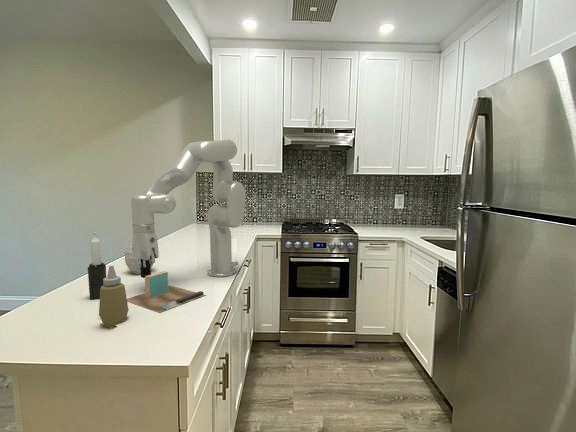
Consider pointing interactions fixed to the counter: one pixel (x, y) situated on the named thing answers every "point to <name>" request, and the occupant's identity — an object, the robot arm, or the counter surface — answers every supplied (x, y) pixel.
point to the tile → (156, 284)
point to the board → (162, 299)
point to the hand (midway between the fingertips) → (145, 276)
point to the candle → (96, 270)
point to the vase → (132, 260)
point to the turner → (180, 301)
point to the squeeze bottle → (112, 300)
